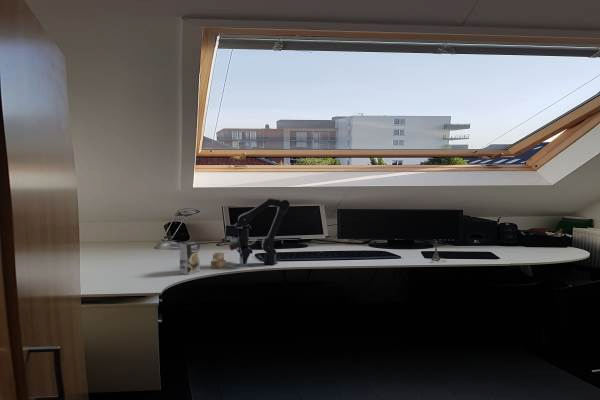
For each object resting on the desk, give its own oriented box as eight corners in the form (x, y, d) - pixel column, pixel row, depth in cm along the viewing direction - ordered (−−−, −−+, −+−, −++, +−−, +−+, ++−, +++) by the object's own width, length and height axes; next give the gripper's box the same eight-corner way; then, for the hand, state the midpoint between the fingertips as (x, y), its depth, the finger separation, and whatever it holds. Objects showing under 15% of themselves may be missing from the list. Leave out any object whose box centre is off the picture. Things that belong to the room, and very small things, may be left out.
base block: (225, 267, 249) (225, 260, 249) (219, 269, 244) (219, 262, 243) (217, 265, 252) (217, 259, 251) (210, 268, 246) (210, 261, 246)
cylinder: (248, 264, 255) (248, 257, 254) (244, 266, 251) (244, 259, 250) (242, 263, 257) (242, 257, 256) (238, 265, 252) (238, 258, 252)
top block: (223, 259, 250) (223, 252, 249) (221, 261, 245) (221, 254, 244) (215, 259, 250) (215, 252, 250) (212, 261, 245) (212, 254, 245)
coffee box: (188, 274, 230) (188, 244, 229) (179, 273, 233) (179, 243, 232) (200, 271, 238) (200, 241, 237) (191, 269, 241) (191, 240, 240)
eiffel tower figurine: (430, 263, 262) (430, 241, 261) (420, 260, 272) (421, 239, 271) (451, 262, 267) (452, 240, 266) (441, 258, 277) (441, 237, 275)
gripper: (226, 234, 258) (226, 260, 259) (233, 240, 241) (233, 267, 242) (244, 233, 262) (244, 259, 263) (252, 238, 245) (252, 266, 246)
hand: (243, 263), depth 254 cm, fingers closed on cylinder, 4 cm apart
